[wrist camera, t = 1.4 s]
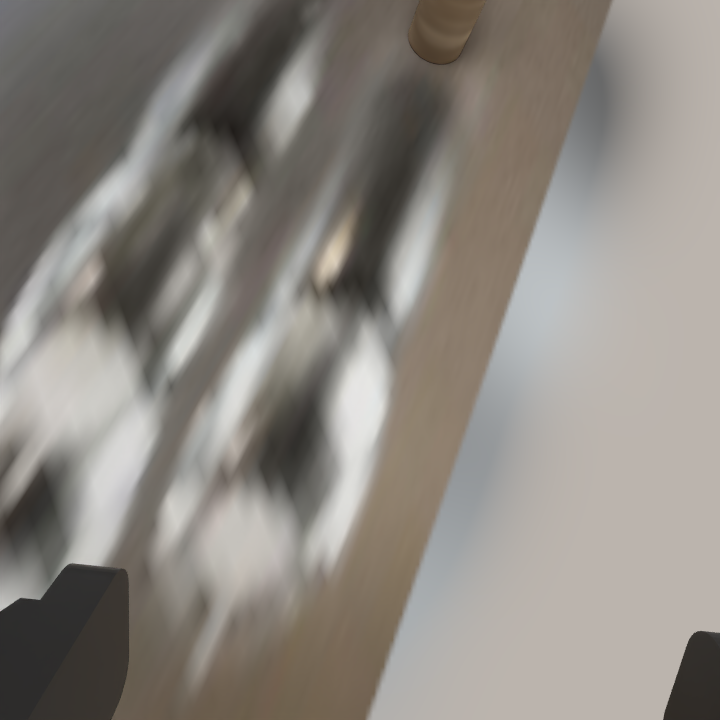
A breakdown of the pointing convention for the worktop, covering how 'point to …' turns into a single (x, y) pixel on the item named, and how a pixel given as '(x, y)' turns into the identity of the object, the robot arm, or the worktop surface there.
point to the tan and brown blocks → (443, 28)
